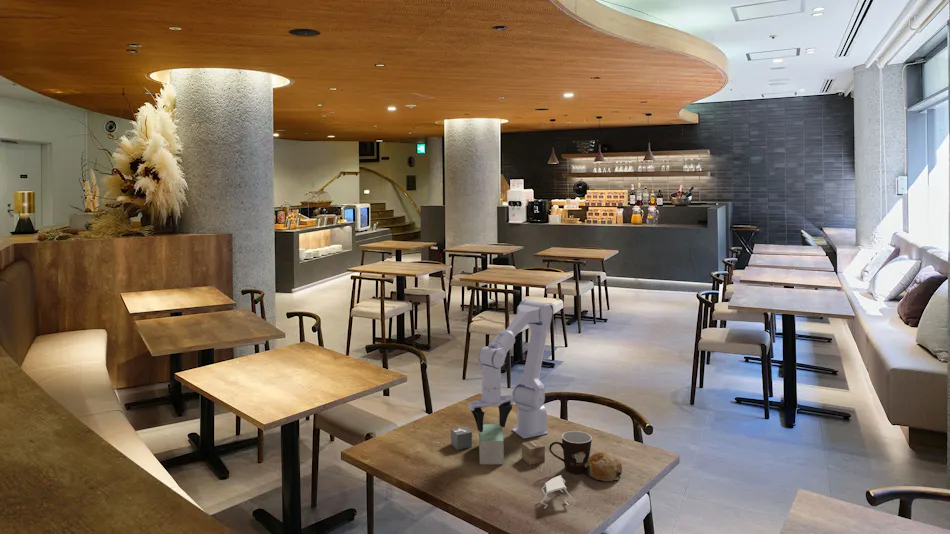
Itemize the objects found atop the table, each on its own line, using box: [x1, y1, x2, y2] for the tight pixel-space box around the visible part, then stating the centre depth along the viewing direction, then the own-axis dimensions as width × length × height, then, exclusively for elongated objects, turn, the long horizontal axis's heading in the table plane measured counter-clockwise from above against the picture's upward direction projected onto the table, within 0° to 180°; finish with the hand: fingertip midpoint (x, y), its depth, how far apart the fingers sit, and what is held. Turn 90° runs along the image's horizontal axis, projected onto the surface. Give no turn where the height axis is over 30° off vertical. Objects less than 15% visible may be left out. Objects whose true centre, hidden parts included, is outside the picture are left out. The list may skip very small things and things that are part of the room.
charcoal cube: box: [450, 426, 473, 451], centre depth 199 cm, size 5×5×5 cm
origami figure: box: [540, 474, 573, 509], centre depth 166 cm, size 12×8×5 cm
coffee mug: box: [548, 430, 593, 476], centre depth 182 cm, size 12×9×10 cm
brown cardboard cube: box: [521, 439, 546, 466], centre depth 188 cm, size 5×5×5 cm
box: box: [478, 423, 505, 465], centre depth 192 cm, size 7×14×8 cm, turn 0°
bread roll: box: [585, 451, 623, 482], centre depth 179 cm, size 10×10×8 cm
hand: (491, 428), depth 193 cm, fingers open, 7 cm apart
